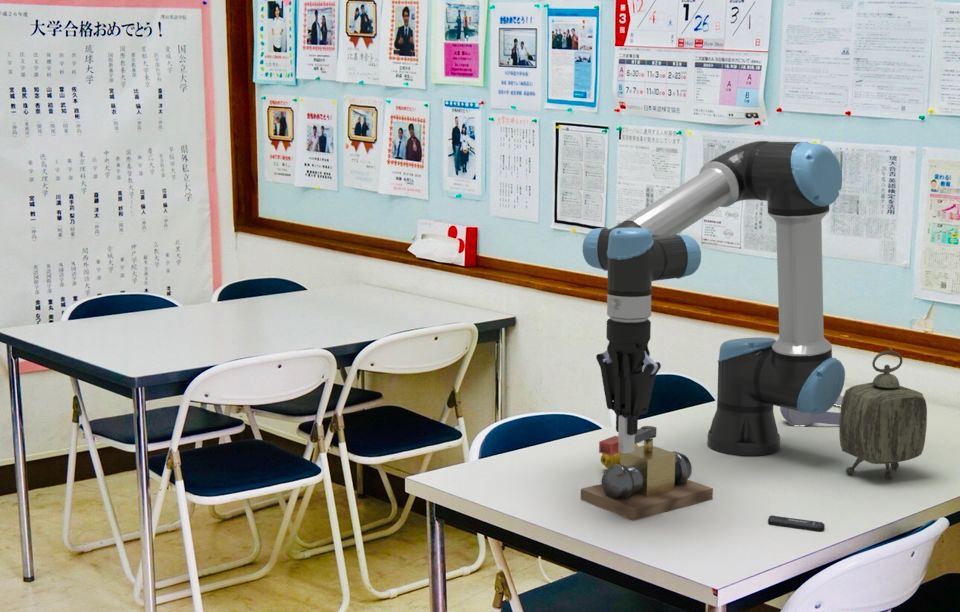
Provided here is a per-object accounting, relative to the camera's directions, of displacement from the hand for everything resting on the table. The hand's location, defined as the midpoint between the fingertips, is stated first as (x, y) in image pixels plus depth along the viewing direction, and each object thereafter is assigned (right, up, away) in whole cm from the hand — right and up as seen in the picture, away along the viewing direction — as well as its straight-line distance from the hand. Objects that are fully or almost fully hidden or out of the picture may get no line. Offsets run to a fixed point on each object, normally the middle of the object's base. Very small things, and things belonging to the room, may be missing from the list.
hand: (626, 451), depth 214 cm
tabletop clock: (+53, -8, +26) cm, 59 cm away
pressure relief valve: (+5, -8, +27) cm, 29 cm away
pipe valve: (+5, -9, +11) cm, 15 cm away
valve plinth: (+5, -10, +12) cm, 16 cm away
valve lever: (+1, +1, +5) cm, 5 cm away
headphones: (+54, -1, +72) cm, 89 cm away
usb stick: (+29, -13, -2) cm, 32 cm away
